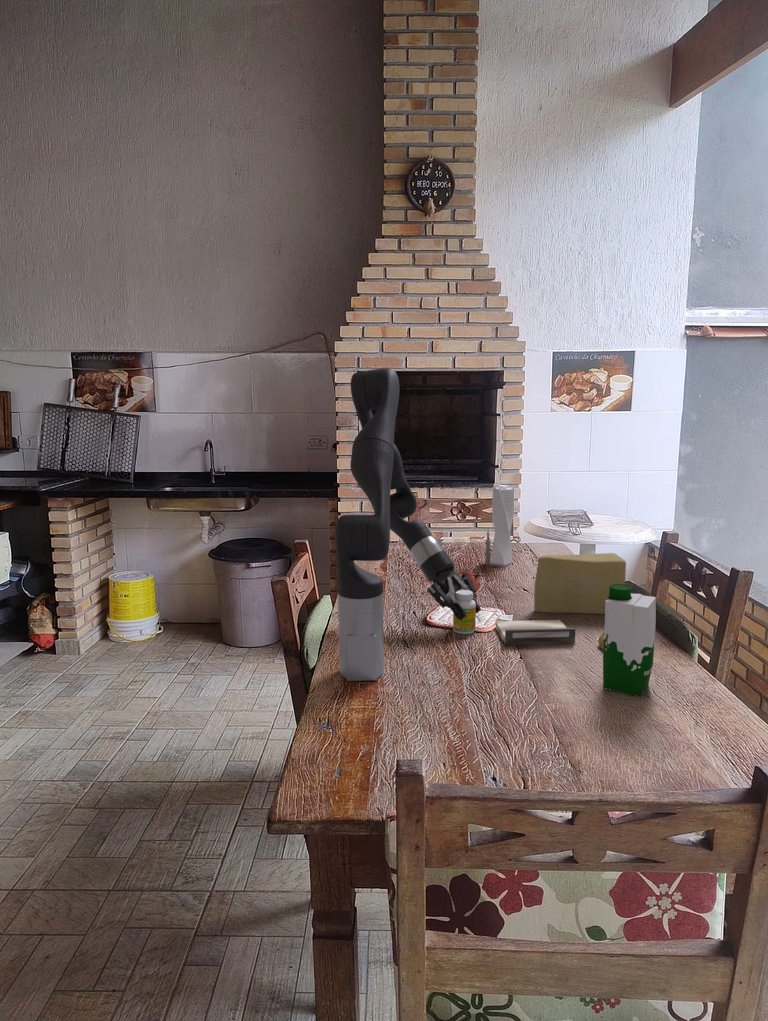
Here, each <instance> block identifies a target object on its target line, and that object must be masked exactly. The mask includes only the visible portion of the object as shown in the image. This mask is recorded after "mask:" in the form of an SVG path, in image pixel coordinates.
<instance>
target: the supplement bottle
mask: <svg viewBox="0 0 768 1021" xmlns="http://www.w3.org/2000/svg"><path fill="white" fill-rule="evenodd" d="M473 597H474V596H473V592H472V591H469V590H459V591H457V592H456V594H455V598H456V601H457V602H456V603H459V605H460V606H461V608H462V609H463V611H464V612H465V614H466V617H464V618H463V619H462V620H459V619H458V618H457V617H456V616H455V614H454V613H453V612H452V613H453V614H452V618H453V619H452V623H453V624H452V630H453V631H454V633H457V634H459V635H470V634H473V633H475V632H474V631H476V623H477V622H476V620H477V619H476V616H477V613H476V603H475V601H474V600H472V599H473Z"/></svg>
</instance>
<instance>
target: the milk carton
mask: <svg viewBox="0 0 768 1021" xmlns="http://www.w3.org/2000/svg"><path fill="white" fill-rule="evenodd" d="M656 604H657V597H656V596H650V595H649V596H648V595H643V594H642V593H632V587H631V586H630V585H627V584H625V585H623V584H613V585H610V587H609V595H608V598H607V599H606V601H605V614H604V630H603V633H604V649H602V651H603V652H602V687H603V688H607V689H606V690H608V689H611V690H610V691H612V690H614V692H617V691H619V692H618V693H621V692H623V694H626V693H628V695H630V694H632V695H631V696H635V695H637V696H636V697H640V696H641V695H643V693H644V692H645V690H646V688H647V687H648V685H649V683H650V678H651V674H652V670H653V666H654V657H655V656H654V655H655V654H654V652H655V639H656V638H655V637H656V625H657V624H656V621H657V620H656V619H657V617H656V614H657V613H656V612H657V609H656V606H657V605H656ZM603 688H602V689H603ZM641 697H642V696H641Z"/></svg>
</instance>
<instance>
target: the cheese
mask: <svg viewBox="0 0 768 1021" xmlns="http://www.w3.org/2000/svg"><path fill="white" fill-rule="evenodd" d="M626 571H627V562H626V560H625V559H624V558H622V556H619V555H618V554H617V553H614V552H607V553H606V552H605V553H582V554H581V553H580V554H567V555H566V554H565V555H564V554H562V555H561V554H560V555H559V554H558V555H555V554H553V555H551V554H546V555H542V556H539V558H538V560H537V567H536V574H535V580H534V591H533V592H534V594H533V609H534V610H533V611H534V612H536V613H545V614H546V613H551V614H555V613H557V614H588V615H589V614H591V615H592V614H593V615H605V601H606V599H607V598H608V595H609V587H610V585H613V584H623V585H626V575H627V572H626Z"/></svg>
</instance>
